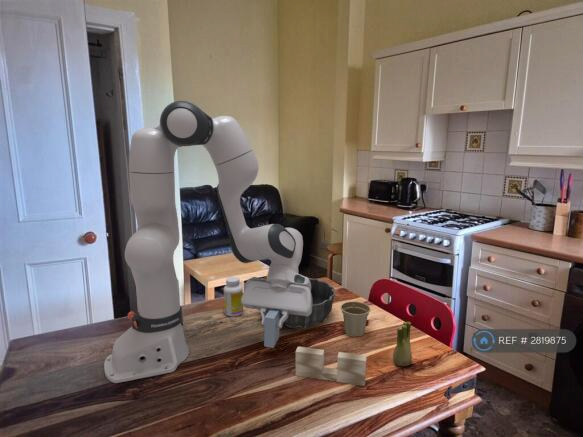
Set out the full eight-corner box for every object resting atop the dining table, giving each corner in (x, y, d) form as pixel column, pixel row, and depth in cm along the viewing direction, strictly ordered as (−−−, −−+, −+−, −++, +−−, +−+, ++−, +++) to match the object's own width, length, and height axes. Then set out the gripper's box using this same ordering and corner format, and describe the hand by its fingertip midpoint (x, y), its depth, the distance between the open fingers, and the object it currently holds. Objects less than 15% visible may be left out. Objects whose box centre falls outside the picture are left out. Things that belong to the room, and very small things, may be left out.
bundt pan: (249, 330, 123) (248, 302, 121) (271, 298, 148) (270, 274, 146) (330, 340, 117) (330, 310, 115) (338, 304, 142) (339, 279, 140)
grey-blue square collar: (273, 347, 101) (273, 318, 100) (264, 346, 102) (264, 317, 100) (279, 337, 107) (279, 309, 105) (270, 336, 107) (270, 308, 106)
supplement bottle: (246, 311, 137) (246, 277, 134) (236, 318, 131) (235, 283, 128) (231, 307, 140) (230, 274, 137) (220, 315, 134) (219, 280, 131)
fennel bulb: (397, 370, 102) (399, 329, 99) (387, 359, 106) (390, 320, 104) (415, 366, 103) (418, 326, 101) (405, 356, 108) (408, 318, 106)
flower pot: (369, 341, 116) (370, 315, 114) (338, 338, 118) (339, 312, 116) (369, 326, 125) (370, 302, 123) (341, 324, 127) (341, 300, 125)
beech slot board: (365, 380, 98) (366, 355, 96) (364, 386, 95) (365, 361, 94) (297, 369, 102) (297, 346, 100) (295, 375, 99) (295, 351, 98)
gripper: (245, 271, 110) (232, 317, 102) (314, 279, 105) (306, 328, 98) (250, 280, 115) (238, 325, 108) (316, 288, 110) (308, 335, 103)
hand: (271, 326), depth 103 cm, fingers closed on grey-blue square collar, 3 cm apart
